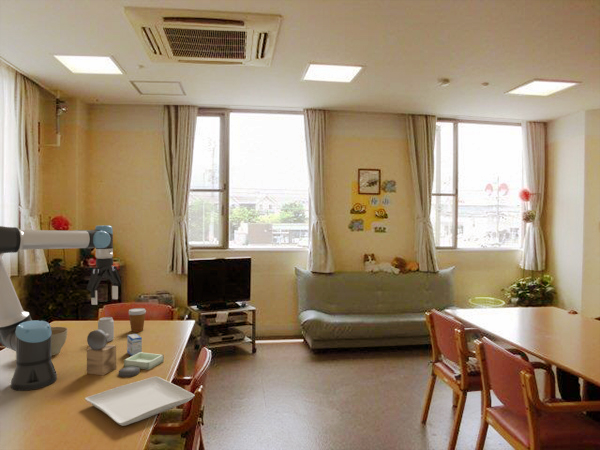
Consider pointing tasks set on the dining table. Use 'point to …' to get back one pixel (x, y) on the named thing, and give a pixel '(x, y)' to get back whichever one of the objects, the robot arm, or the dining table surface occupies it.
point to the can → (107, 327)
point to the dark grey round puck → (129, 371)
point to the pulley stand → (100, 353)
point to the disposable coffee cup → (137, 319)
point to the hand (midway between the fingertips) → (105, 301)
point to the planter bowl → (58, 339)
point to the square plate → (139, 400)
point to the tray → (144, 360)
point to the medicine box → (134, 344)
